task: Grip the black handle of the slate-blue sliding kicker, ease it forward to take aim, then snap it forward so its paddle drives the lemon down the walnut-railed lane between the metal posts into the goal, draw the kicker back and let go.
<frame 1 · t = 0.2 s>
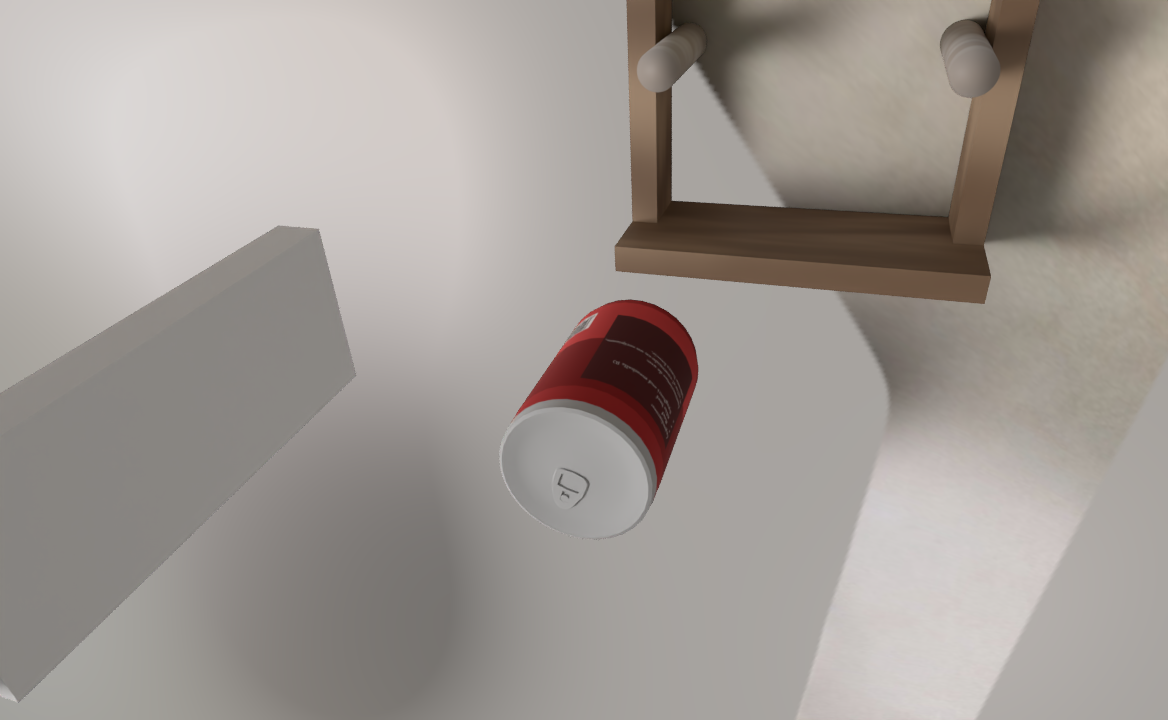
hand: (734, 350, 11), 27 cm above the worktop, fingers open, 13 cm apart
canned food: (636, 354, 45), on the worktop
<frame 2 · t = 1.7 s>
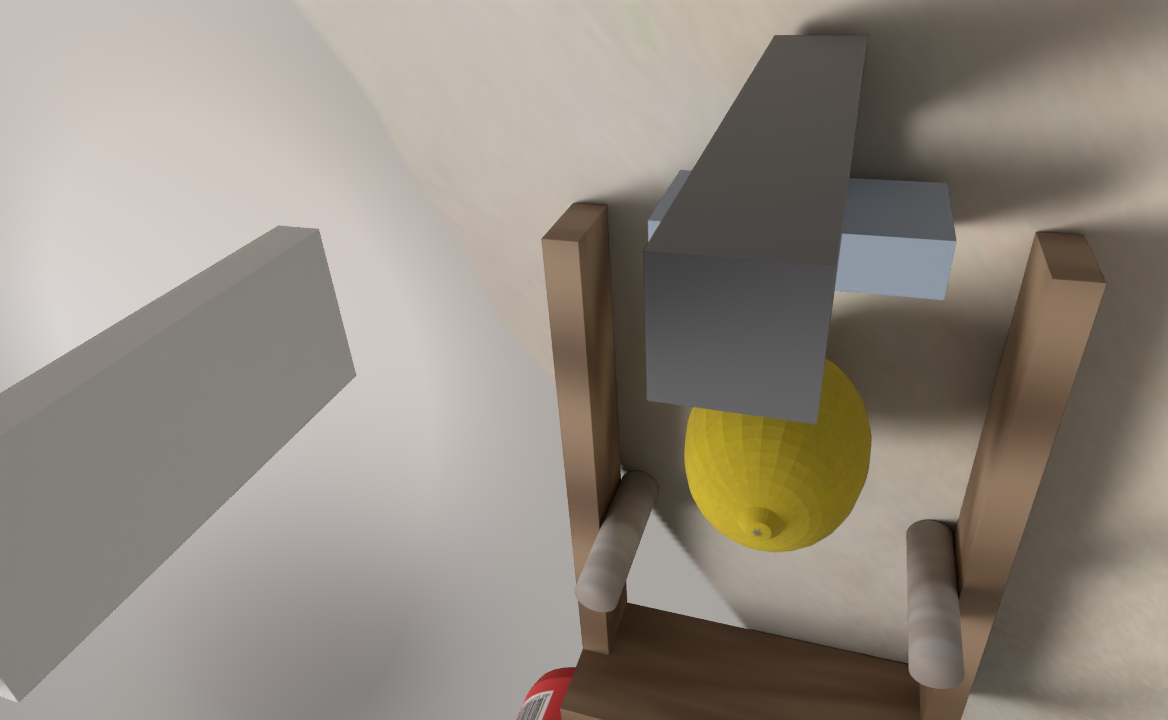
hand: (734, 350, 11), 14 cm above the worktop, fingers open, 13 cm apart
lemon: (790, 369, 27), on the worktop
canned food: (597, 707, 43), on the worktop
kicker: (783, 235, 17), point 8 cm above the worktop, slide at 0.0 cm
lane: (786, 407, 28), on the worktop
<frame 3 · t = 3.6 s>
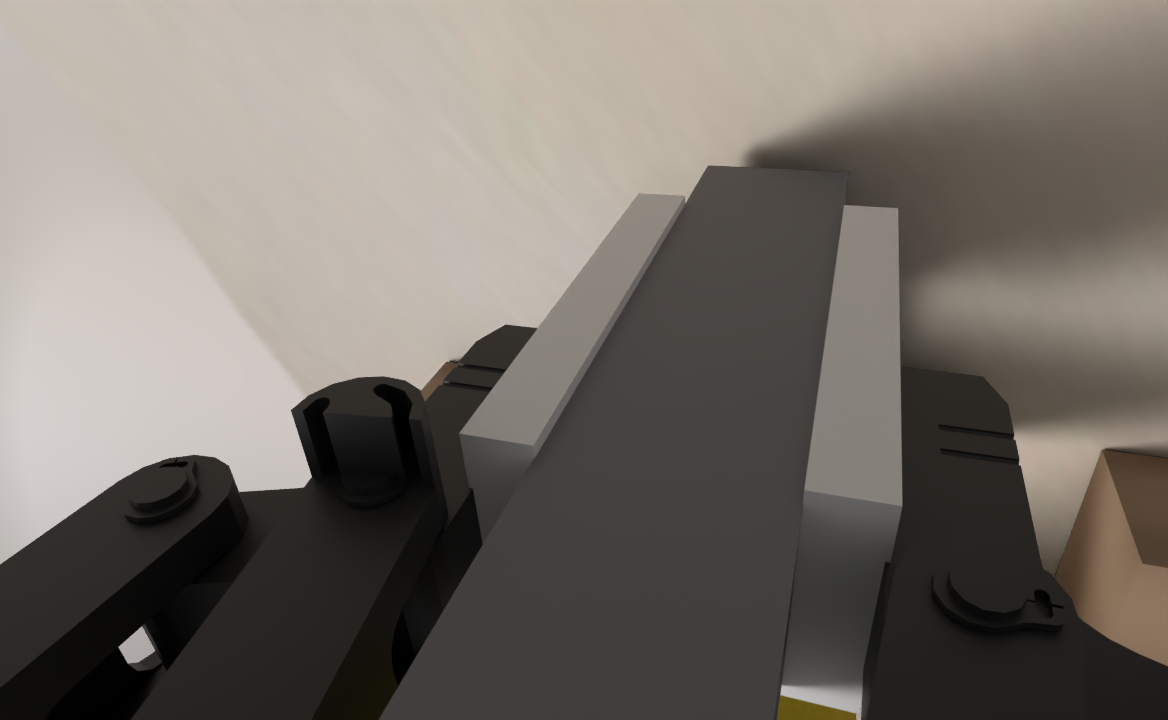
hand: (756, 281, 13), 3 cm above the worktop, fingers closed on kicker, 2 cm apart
lemon: (749, 583, 20), on the worktop
kicker: (691, 576, 9), point 7 cm above the worktop, slide at 0.0 cm, touching gripper
lane: (744, 629, 21), on the worktop
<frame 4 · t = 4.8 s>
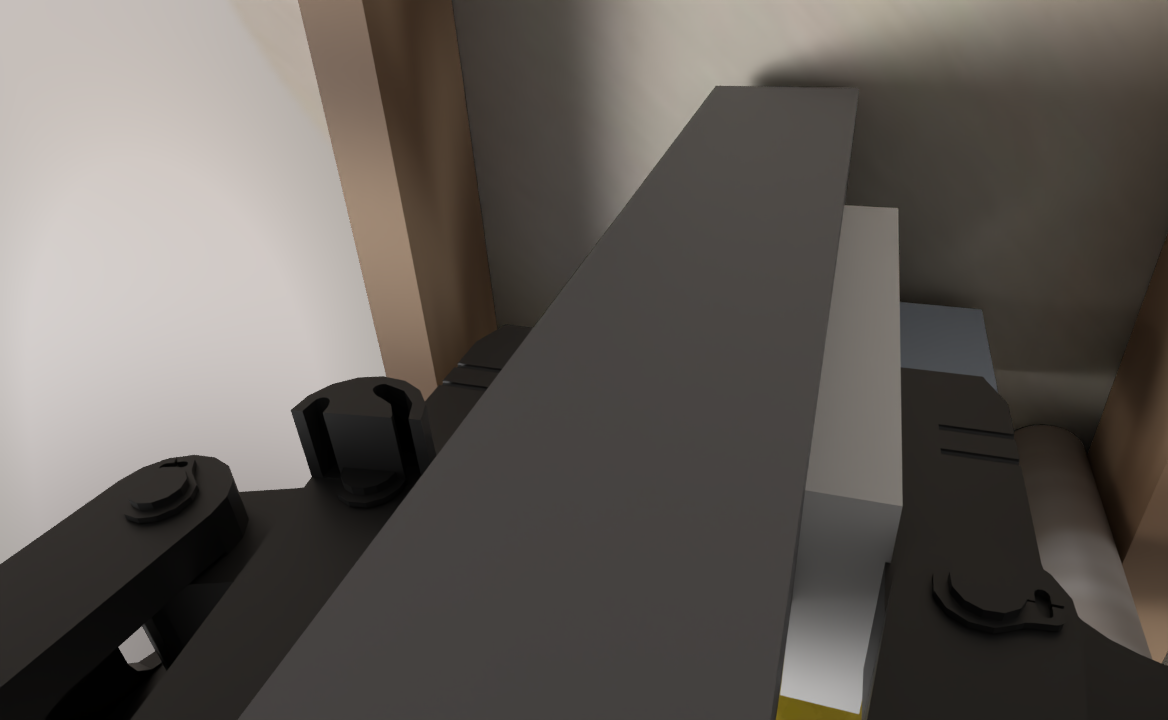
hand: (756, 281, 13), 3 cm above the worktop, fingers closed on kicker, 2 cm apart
lemon: (758, 454, 18), on the worktop
kicker: (703, 468, 9), point 7 cm above the worktop, slide at 10.3 cm, touching gripper
lane: (779, 209, 15), on the worktop
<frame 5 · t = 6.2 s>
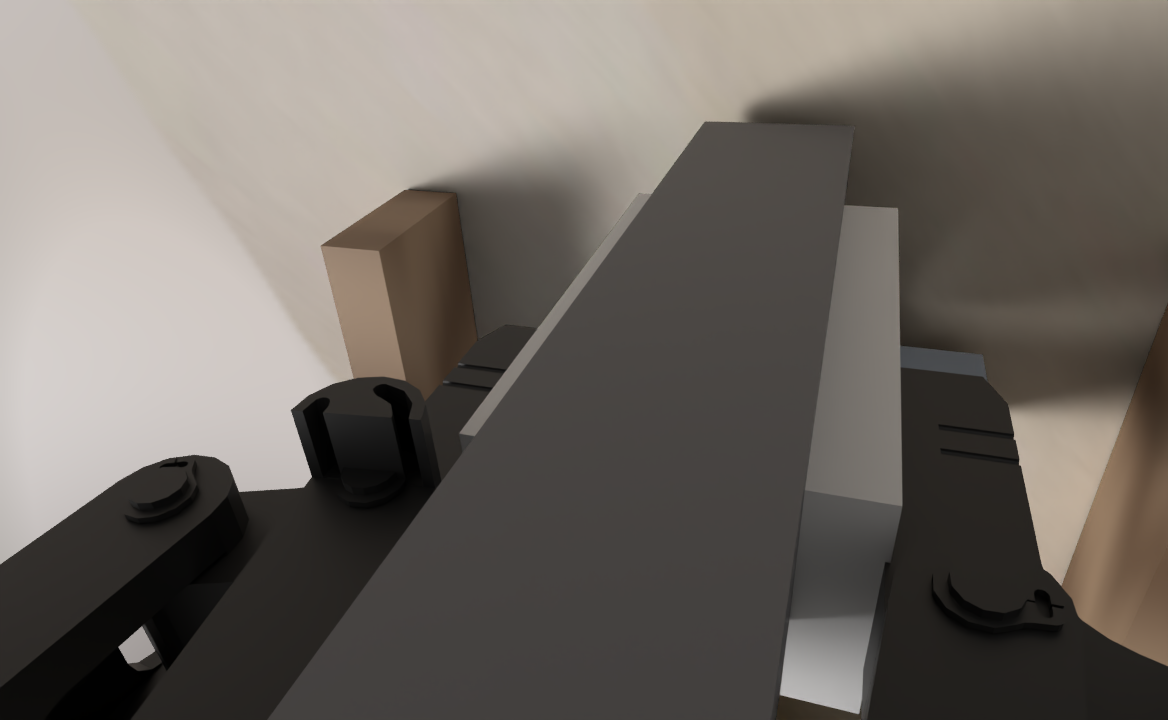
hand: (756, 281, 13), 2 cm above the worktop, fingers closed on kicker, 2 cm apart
kicker: (684, 544, 9), point 8 cm above the worktop, slide at 3.6 cm, touching gripper
lane: (751, 515, 18), on the worktop
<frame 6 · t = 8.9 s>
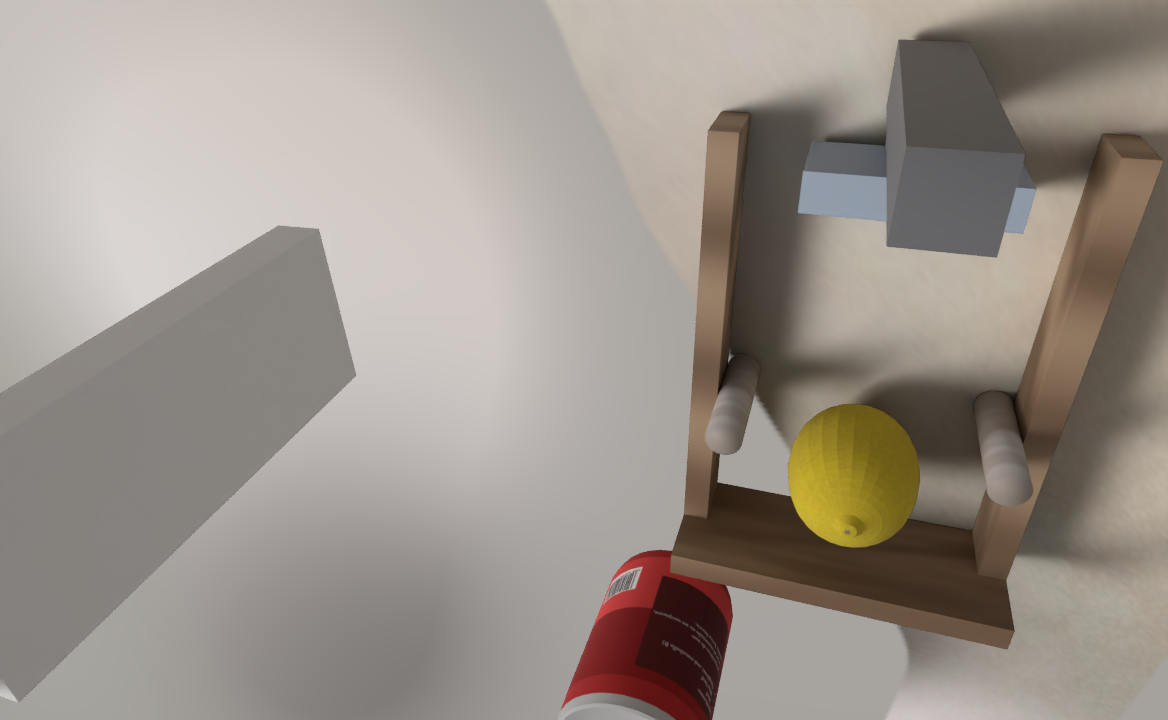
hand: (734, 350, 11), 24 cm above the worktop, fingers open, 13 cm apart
lemon: (856, 420, 38), on the worktop
canned food: (673, 591, 48), on the worktop
kicker: (925, 174, 24), point 8 cm above the worktop, slide at 2.3 cm
lane: (882, 291, 34), on the worktop
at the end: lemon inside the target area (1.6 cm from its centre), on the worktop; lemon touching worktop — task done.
